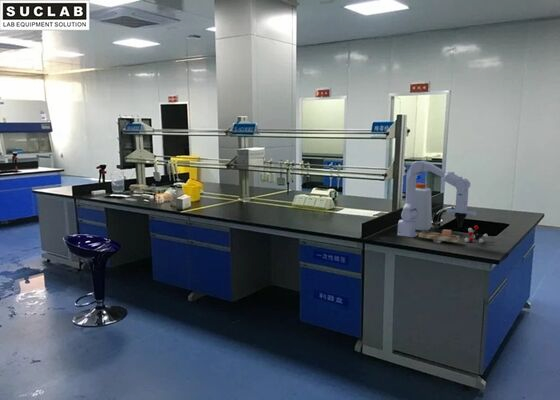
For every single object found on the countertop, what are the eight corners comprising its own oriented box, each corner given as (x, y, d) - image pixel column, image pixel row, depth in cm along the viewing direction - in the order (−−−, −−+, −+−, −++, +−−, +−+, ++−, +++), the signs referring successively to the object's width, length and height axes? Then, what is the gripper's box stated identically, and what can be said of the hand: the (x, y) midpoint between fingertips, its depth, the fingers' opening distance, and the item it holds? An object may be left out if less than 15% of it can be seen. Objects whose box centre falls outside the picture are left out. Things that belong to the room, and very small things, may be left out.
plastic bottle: (403, 229, 264) (405, 184, 259) (408, 224, 277) (410, 181, 273) (428, 232, 257) (431, 185, 252) (432, 227, 270) (435, 183, 266)
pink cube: (441, 237, 232) (442, 230, 232) (443, 235, 235) (444, 229, 235) (449, 238, 230) (449, 231, 229) (451, 236, 233) (451, 230, 232)
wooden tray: (418, 239, 239) (418, 230, 238) (422, 237, 244) (423, 228, 243) (455, 245, 227) (456, 236, 226) (459, 242, 232) (459, 233, 232)
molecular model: (471, 246, 241) (475, 229, 243) (486, 248, 235) (490, 231, 237) (459, 238, 231) (464, 221, 233) (474, 240, 225) (478, 222, 227)
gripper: (445, 201, 227) (443, 226, 229) (474, 204, 218) (472, 230, 220) (449, 199, 232) (447, 224, 234) (477, 202, 224) (475, 228, 226)
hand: (459, 227), depth 228 cm, fingers closed
